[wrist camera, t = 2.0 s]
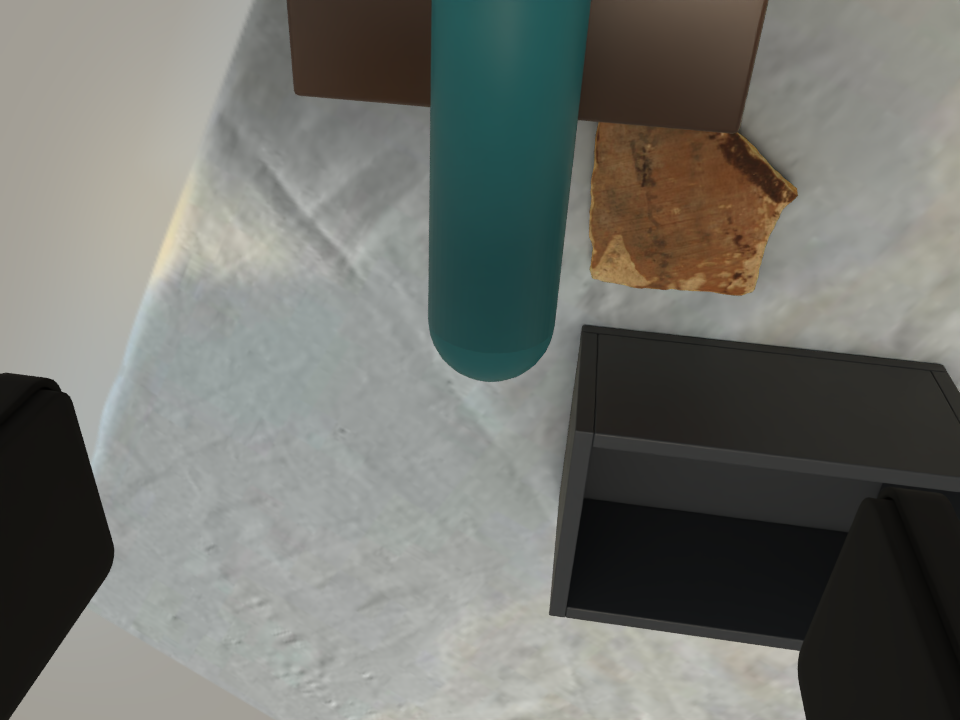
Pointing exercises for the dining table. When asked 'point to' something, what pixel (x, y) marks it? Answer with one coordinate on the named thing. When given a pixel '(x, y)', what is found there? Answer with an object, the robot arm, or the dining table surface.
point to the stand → (607, 65)
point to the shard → (681, 209)
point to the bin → (733, 477)
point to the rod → (500, 176)
